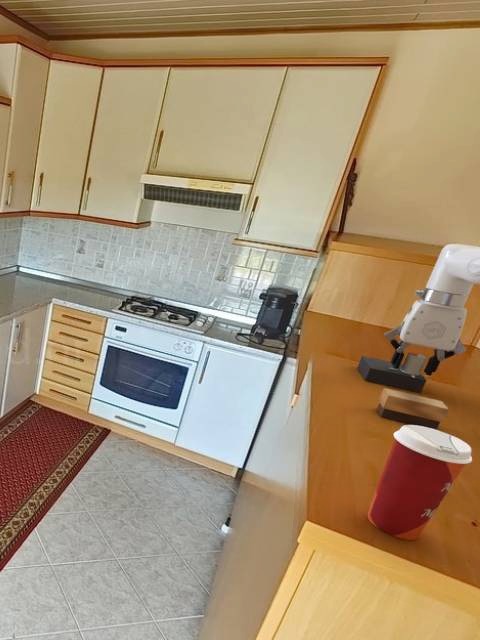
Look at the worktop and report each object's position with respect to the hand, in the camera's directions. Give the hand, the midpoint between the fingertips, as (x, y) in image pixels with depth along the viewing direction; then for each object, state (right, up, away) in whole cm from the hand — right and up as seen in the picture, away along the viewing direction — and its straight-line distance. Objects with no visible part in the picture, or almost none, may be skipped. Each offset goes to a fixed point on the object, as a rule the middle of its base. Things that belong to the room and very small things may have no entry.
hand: (411, 369), depth 119 cm
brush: (-17, -10, -18) cm, 27 cm away
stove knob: (0, -1, 0) cm, 1 cm away
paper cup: (-50, -20, -52) cm, 75 cm away
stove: (-2, -3, +5) cm, 6 cm away
